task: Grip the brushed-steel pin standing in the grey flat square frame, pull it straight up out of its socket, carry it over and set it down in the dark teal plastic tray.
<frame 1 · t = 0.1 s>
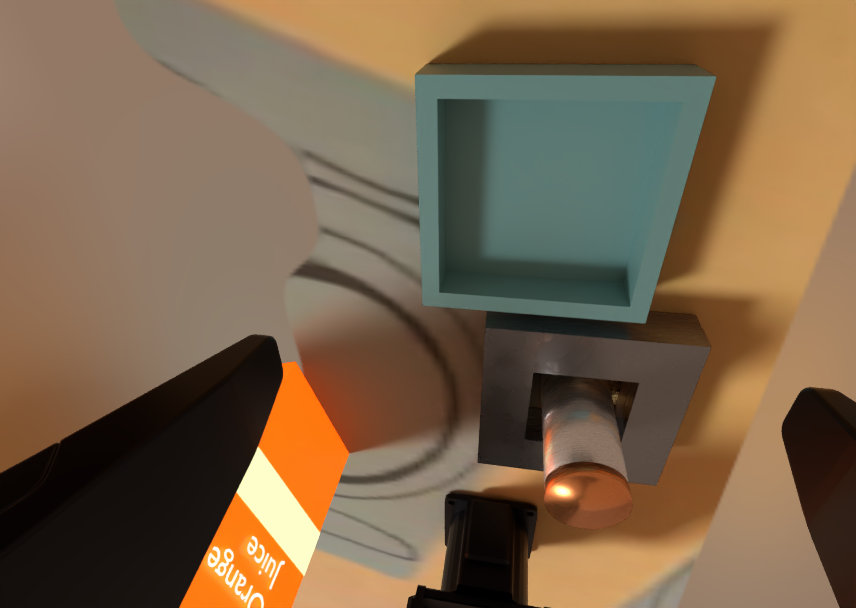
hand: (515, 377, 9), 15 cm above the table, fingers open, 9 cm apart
tray: (541, 189, 21), on the table
grey flat square frame: (574, 380, 27), on the table
orange juice: (278, 413, 34), on the table
pin: (580, 433, 24), in the grey flat square frame
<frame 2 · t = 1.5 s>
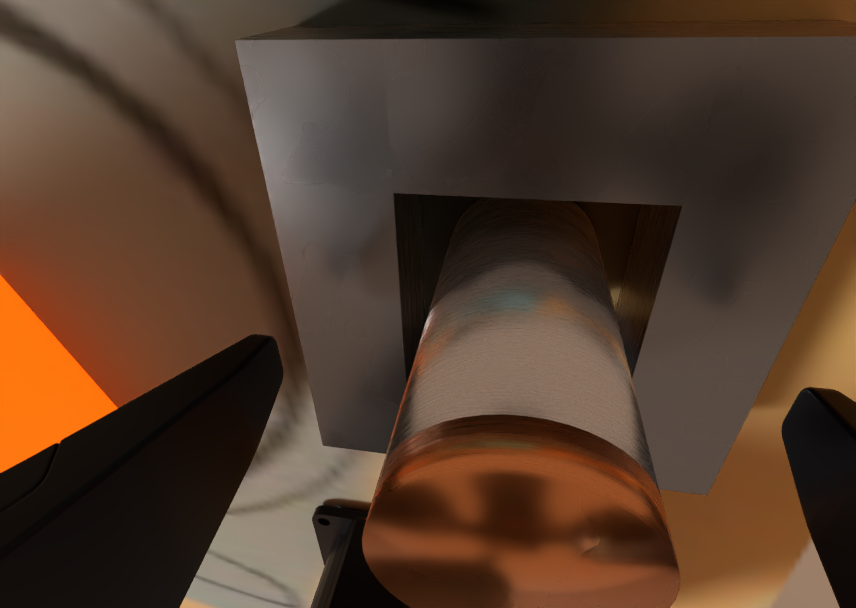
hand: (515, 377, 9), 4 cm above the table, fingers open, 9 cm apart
grey flat square frame: (521, 256, 12), on the table
orange juice: (2, 360, 18), on the table
pin: (518, 357, 9), in the grey flat square frame
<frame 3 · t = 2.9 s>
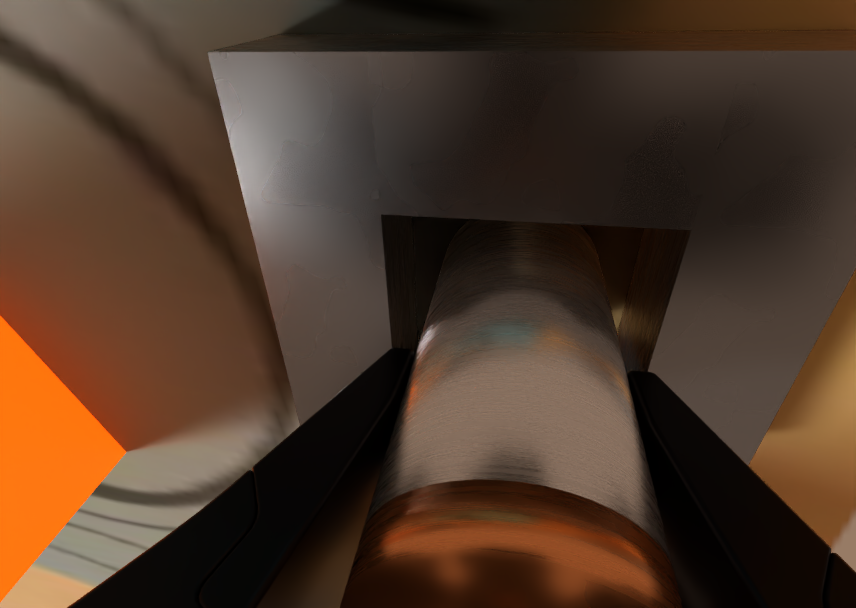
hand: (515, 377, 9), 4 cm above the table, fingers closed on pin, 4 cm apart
grey flat square frame: (518, 275, 11), on the table
pin: (514, 391, 8), in the grey flat square frame, touching gripper
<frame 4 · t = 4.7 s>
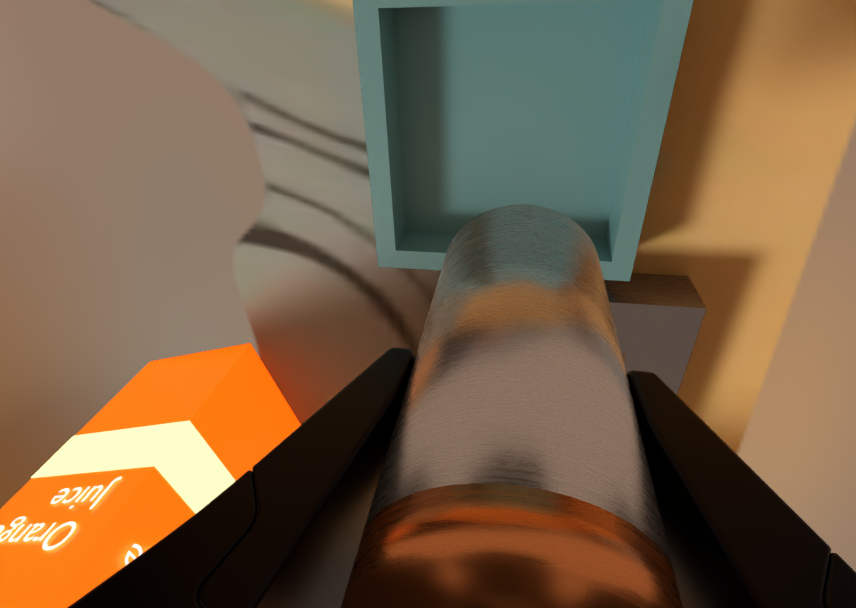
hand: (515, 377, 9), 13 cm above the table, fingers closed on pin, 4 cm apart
tray: (508, 129, 19), on the table
grey flat square frame: (555, 357, 24), on the table
orange juice: (236, 403, 31), on the table
pin: (515, 393, 8), point 14 cm above the table, touching gripper
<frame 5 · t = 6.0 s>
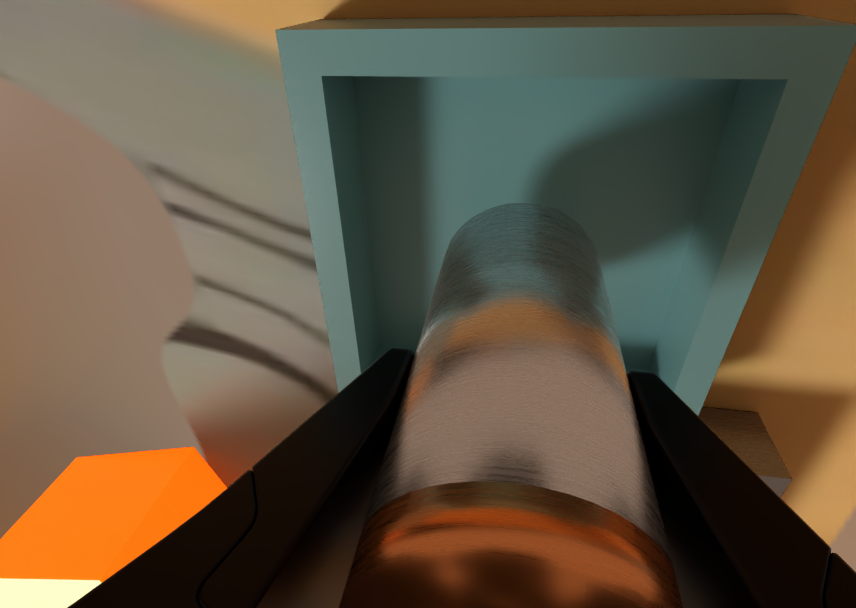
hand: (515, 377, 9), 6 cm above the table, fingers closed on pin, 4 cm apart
tray: (520, 227, 13), on the table
grey flat square frame: (573, 487, 19), on the table
orange juice: (185, 503, 26), on the table
pin: (514, 392, 8), point 6 cm above the table, touching gripper
when the fingers open (5 cm above the table, at t = 6.8 s): pin drops 1 cm, resting on tray.
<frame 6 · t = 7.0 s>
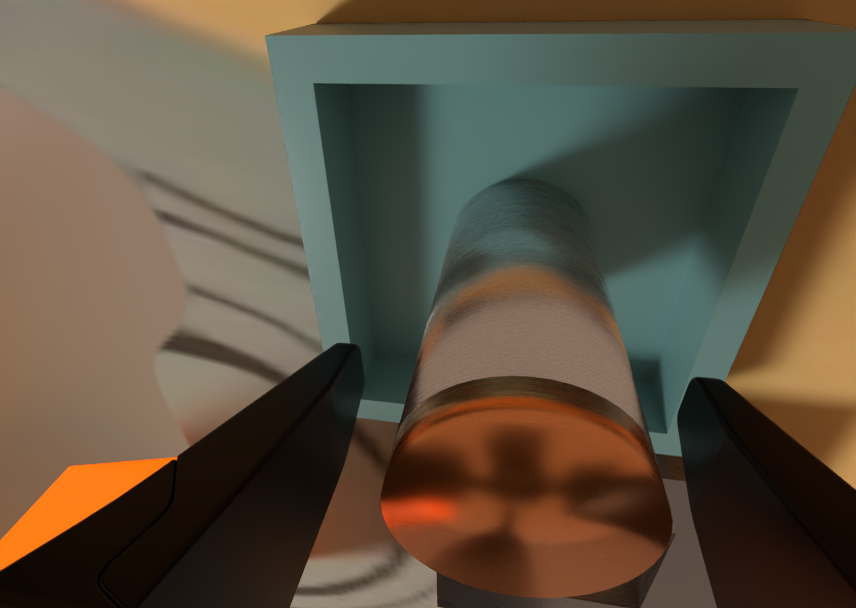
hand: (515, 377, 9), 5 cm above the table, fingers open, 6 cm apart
tray: (519, 236, 13), on the table
grey flat square frame: (574, 498, 19), on the table
orange juice: (179, 512, 25), on the table
pin: (519, 338, 9), in the tray
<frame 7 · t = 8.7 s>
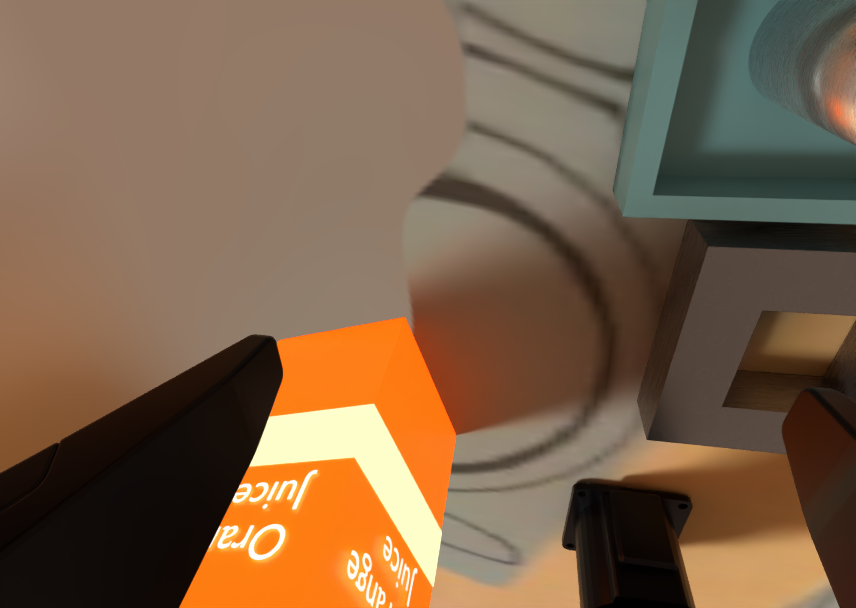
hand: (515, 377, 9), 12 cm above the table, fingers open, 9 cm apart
tray: (808, 41, 15), on the table
grey flat square frame: (783, 328, 21), on the table
orange juice: (372, 386, 27), on the table
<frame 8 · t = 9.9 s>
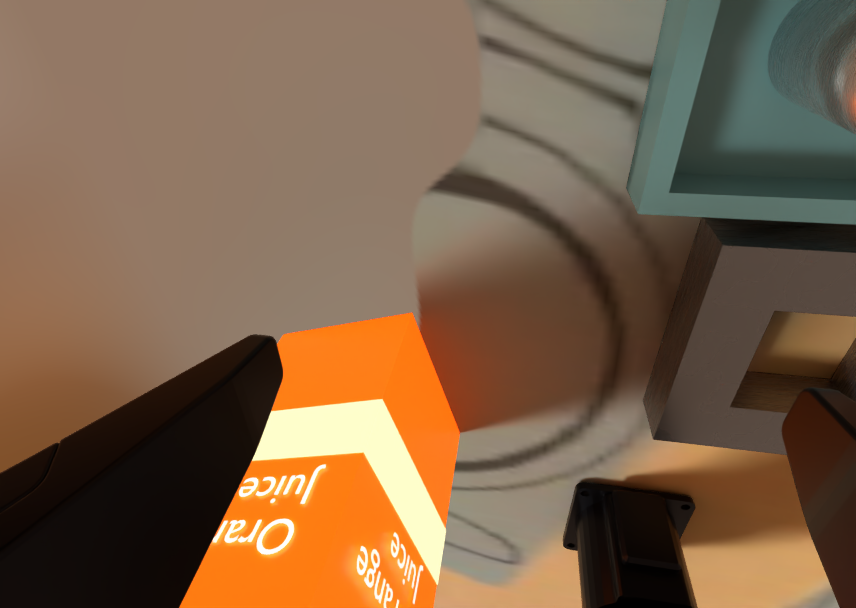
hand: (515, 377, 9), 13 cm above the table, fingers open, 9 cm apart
tray: (828, 40, 15), on the table
grey flat square frame: (792, 330, 21), on the table
orange juice: (376, 382, 27), on the table
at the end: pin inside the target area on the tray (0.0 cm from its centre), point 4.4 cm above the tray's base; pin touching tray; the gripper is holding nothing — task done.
